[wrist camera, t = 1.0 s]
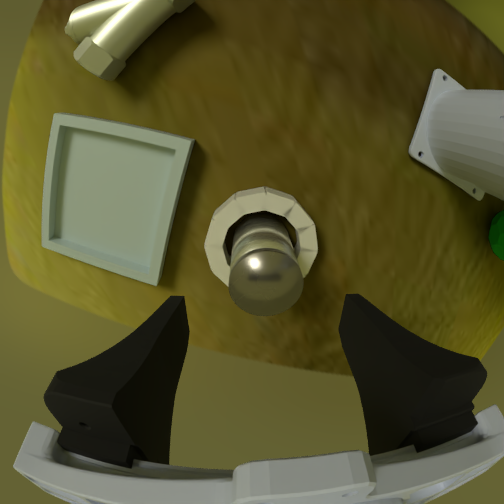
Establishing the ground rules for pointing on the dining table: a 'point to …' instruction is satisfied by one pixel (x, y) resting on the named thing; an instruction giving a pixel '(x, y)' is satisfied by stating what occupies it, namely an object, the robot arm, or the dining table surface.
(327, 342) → the dining table surface
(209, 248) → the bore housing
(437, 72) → the robot arm
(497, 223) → the polyhedron
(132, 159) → the tray
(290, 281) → the metal cylinder
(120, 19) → the pipe fitting
